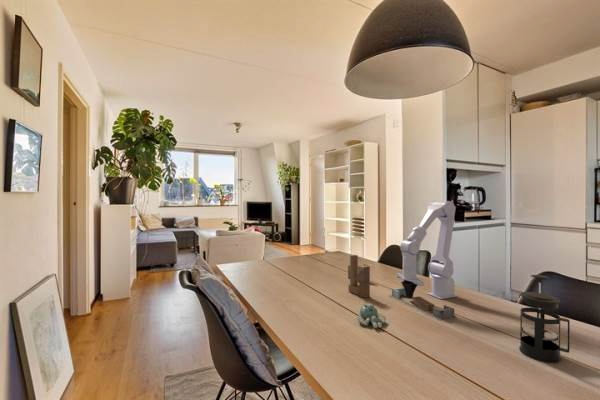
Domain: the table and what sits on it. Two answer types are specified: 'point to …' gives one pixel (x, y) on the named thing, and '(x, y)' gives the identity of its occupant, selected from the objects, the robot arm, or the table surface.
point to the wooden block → (359, 278)
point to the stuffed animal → (370, 316)
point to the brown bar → (424, 304)
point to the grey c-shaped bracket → (443, 312)
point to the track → (418, 308)
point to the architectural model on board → (358, 270)
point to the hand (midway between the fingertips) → (409, 298)
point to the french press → (541, 327)
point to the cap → (398, 292)
